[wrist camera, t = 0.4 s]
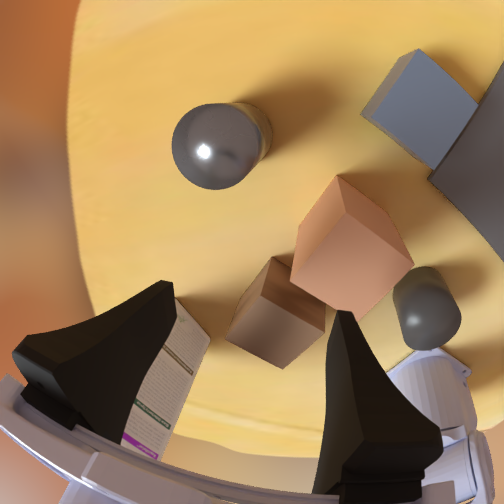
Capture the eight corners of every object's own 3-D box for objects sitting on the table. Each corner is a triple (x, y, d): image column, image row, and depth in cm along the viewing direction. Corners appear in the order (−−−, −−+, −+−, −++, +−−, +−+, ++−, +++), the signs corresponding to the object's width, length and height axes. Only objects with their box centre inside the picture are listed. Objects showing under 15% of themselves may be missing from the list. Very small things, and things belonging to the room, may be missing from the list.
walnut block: (325, 288, 23) (324, 332, 19) (289, 326, 25) (282, 369, 21) (272, 256, 22) (260, 295, 18) (240, 297, 25) (224, 338, 21)
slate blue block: (450, 102, 14) (478, 104, 11) (412, 156, 17) (433, 170, 13) (399, 57, 14) (418, 48, 10) (359, 114, 16) (371, 117, 13)
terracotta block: (387, 213, 19) (414, 264, 13) (348, 258, 21) (356, 322, 15) (336, 174, 19) (345, 212, 13) (299, 225, 21) (289, 281, 15)
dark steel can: (285, 124, 18) (273, 132, 13) (251, 178, 20) (229, 205, 15) (226, 91, 17) (195, 89, 13) (197, 146, 19) (159, 163, 15)
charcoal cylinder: (453, 284, 20) (471, 320, 16) (416, 320, 23) (427, 358, 19) (420, 256, 20) (438, 290, 16) (381, 296, 22) (390, 335, 18)
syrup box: (175, 295, 26) (91, 426, 14) (214, 339, 28) (157, 471, 16) (139, 313, 29) (62, 423, 16) (175, 352, 30) (117, 463, 18)
